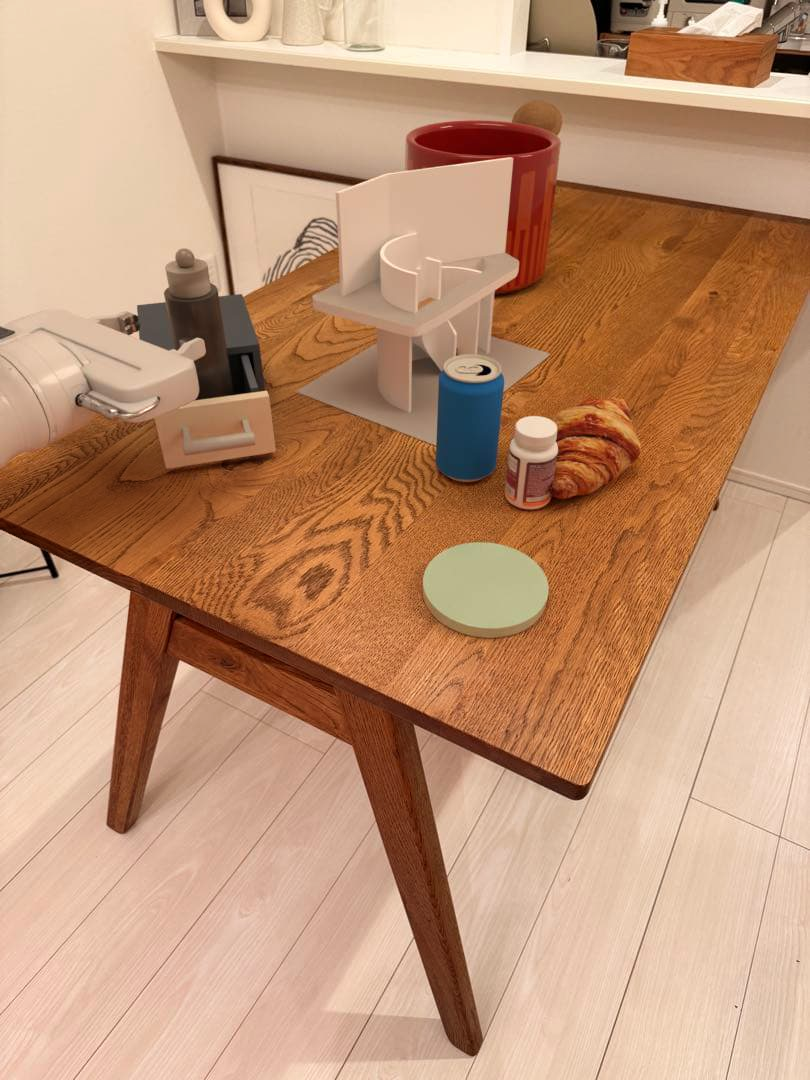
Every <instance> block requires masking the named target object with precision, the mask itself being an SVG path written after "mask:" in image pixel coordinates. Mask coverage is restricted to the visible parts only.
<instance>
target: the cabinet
mask: <svg viewBox="0 0 810 1080" xmlns="http://www.w3.org/2000/svg"><path fill="white" fill-rule="evenodd" d="M218 296H219V302H220V309H221V315H222V321H223V328H224V334H225V341H226V347H227V354H228V355H233V354H241V353H247V354H248V357H249V360H250V364H251V367H252V370H253V373H254V376H255V380H256V383H257V386H258V392H261V391H266V387H265V380H264V379H265V378H264V371H263V370H264V369H263V363H262V356H261V355H262V354H261V347H260V342H259V340H258V336H257V333H256V331H255V327H254V324H253V322H252V319H251V316H250V314H249V310H248V307H247V305H246V301H245V299H244V296H243V294H242V293H238V294H230V295H229V294H228V295H218ZM136 313H137V316H138V319H139V320H138V322H139V323H140V329H139V331H138V339H140V340H142V341H145V342H147V343H150V344H153V345H155V346H158V347H160V348H163V349H166V350H168V351H169V350H172V349H175V346H174V342H173V337H172V332H171V327H170V322H169V317H168V312H167V307H166V302H165V301H164V302H153V303H145V304H137V305H136Z"/></svg>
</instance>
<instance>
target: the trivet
mask: <svg viewBox="0 0 810 1080" xmlns="http://www.w3.org/2000/svg"><path fill="white" fill-rule="evenodd" d="M549 592H550V586H549V581H548V578H547V575H546V574H545V572H544V570H543V568H541V566H540V565H539V564H538V563H537V561H535V560H534V559H533V558H531V557H530V556H529V555H527V554H526V553H524V552H522V551H520V550H518V549H516V548H514V547H511V546H509V545H504V544H500V543H496V542H495V543H494V542H488V541H477V542H476V541H475V542H473V541H472V542H466V543H461V544H457V545H454V546H451V547H448V548H447V549H444V550H443V551H441V552H439V553H438V554H437V555H436V556H434V557H433V558H432V559H431V560H430V561H429V563H428V564H427V566H426V567H425V570H424V572H423V575H422V591H421V593H422V597H423V601H424V605H425V606H426V608H427V610H428V611H429V613H430V614H431V615H432V616H433V617H434V618H435V619H436V620H437V621H438V622H440V623H441V624H442V625H443V626H445V627H447V628H449V629H450V630H452V631H454V632H457V633H460V634H463V635H465V636H470V637H475V638H483V639H497V638H505V637H511V636H513V635H517V634H520V633H522V632H524V631H526V630H528V629H529V628H531V627H532V626H534V625H535V624H536V623H538V621H539V620H540V619H541V618H542V616H543V614H544V613H545V610H546V609H547V605H548V598H549V594H550V593H549Z"/></svg>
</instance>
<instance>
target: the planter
mask: <svg viewBox="0 0 810 1080" xmlns="http://www.w3.org/2000/svg"><path fill="white" fill-rule="evenodd" d="M561 145H562V140H561V139H560V137H559V136H558V135H555V134H554V133H552V132H550V131H547V130H545V129H542V128H538V127H534V126H530V125H525V124H519V123H512V121H500V120H483V119H482V120H477V119H476V120H473V119H472V120H471V119H470V120H450V121H443V122H435V123H430V124H426V125H422V126H420V127H416V128H414V129H412V130H410V131H409V132H408V133H407V134H406V137H405V151H404V152H405V156H404V171H410V170H418V169H425V168H433V167H440V166H448V165H456V164H463V163H471V162H478V161H486V160H494V159H501V158H509V157H511V158H513V168H512V179H511V191H510V202H509V213H508V225H507V236H506V247H505V253H507V254H509V255H510V256H512V257H514V258H515V259H517V260H518V261H519V270H518V274H517V276H516V277H515V278H514V279H512V280H510V281H509V282H507V283H506V284H504V285H502V286H501V287H499V288H498V289H496V290H495V294H494V296H499V295H504V294H509V293H514V292H518V291H520V290H523V289H525V288H528V287H530V286H532V285H533V284H535V283H537V282H538V281H539V280H540V279H541V278H542V277H543V276H544V274H545V272H546V268H547V262H548V253H549V245H550V239H551V238H550V236H551V230H552V221H553V212H554V207H555V206H554V205H555V197H556V188H557V179H558V172H559V171H558V170H559V163H560V154H561Z"/></svg>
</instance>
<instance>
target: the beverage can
mask: <svg viewBox="0 0 810 1080" xmlns="http://www.w3.org/2000/svg"><path fill="white" fill-rule="evenodd" d="M503 391H504V377H503V375H502V373H501V366H500V364H499V363H498V362H497V361H495V360H494V359H492V358H489V357H486V356H482V355H476V354H465V355H458V356H455V357H452V358H450V359H448V360H447V361H446V362H445V363H444V369H443V370H442V372H441V373H440V376H439V387H438V414H437V440H436V446H435V465H436V468H437V469H438V471H439V472H441V474H443V475H444V476H447V478H449V479H451V480H453V481H457V482H462V483H472V482H477V481H481V480H483V479H484V478H486V477H488V476H490V475H491V474H492V473H494V471H495V469H496V467H497V462H498V451H499V450H498V449H499V440H500V431H501V420H502V410H503V402H504V401H503V400H504V393H503Z"/></svg>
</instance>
